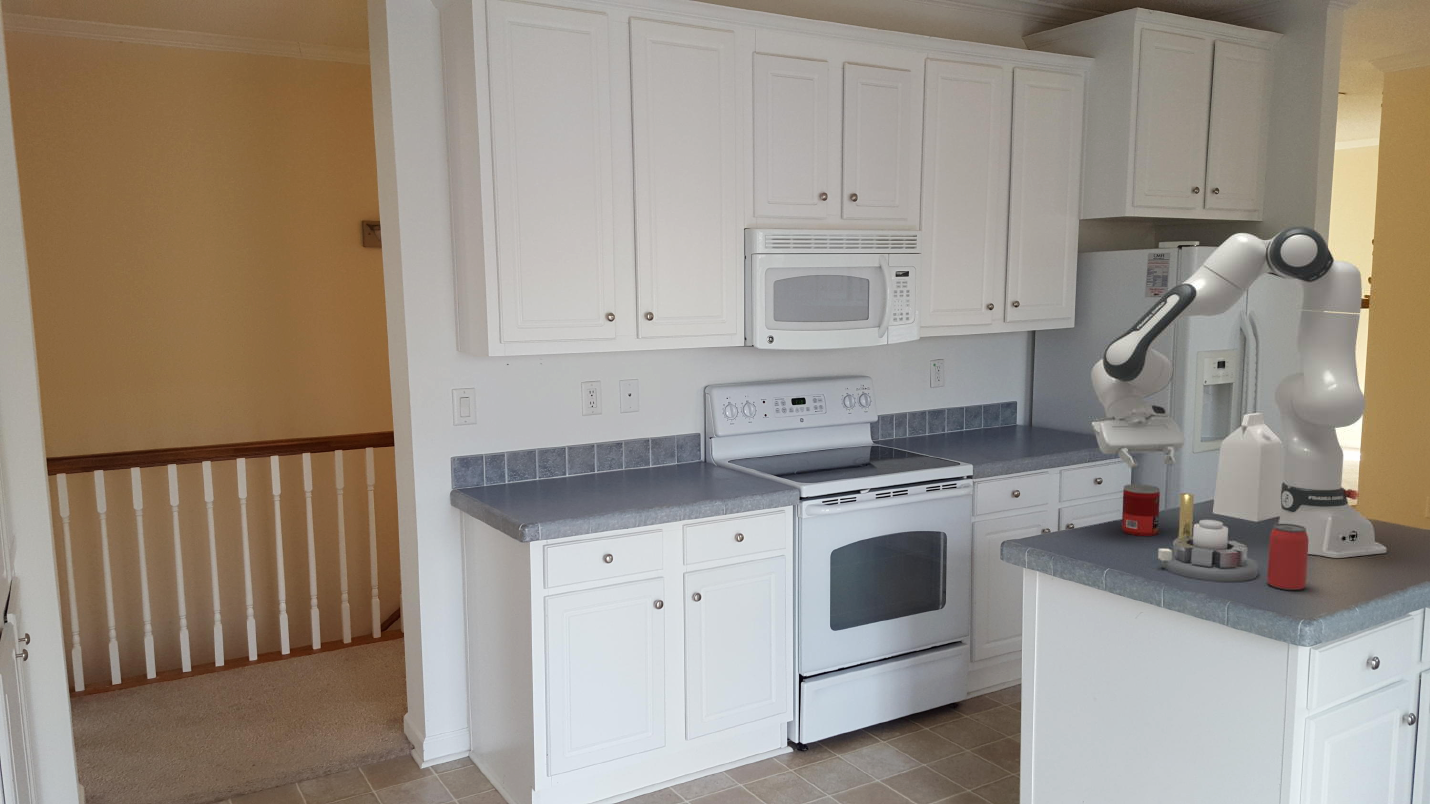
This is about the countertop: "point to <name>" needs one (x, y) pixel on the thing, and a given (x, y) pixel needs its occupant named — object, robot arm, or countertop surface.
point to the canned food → (1140, 509)
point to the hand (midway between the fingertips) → (1152, 465)
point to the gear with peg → (1201, 556)
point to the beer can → (1288, 557)
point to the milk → (1250, 472)
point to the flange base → (1212, 571)
